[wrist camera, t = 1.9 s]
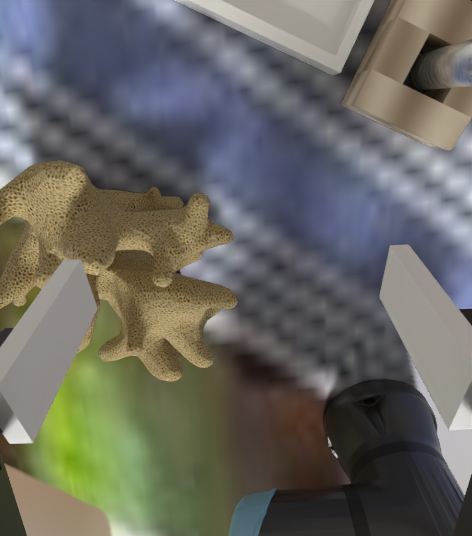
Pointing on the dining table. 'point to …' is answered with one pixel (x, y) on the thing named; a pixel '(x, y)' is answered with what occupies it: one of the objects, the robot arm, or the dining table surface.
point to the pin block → (399, 64)
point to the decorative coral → (119, 260)
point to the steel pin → (442, 68)
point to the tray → (295, 26)
